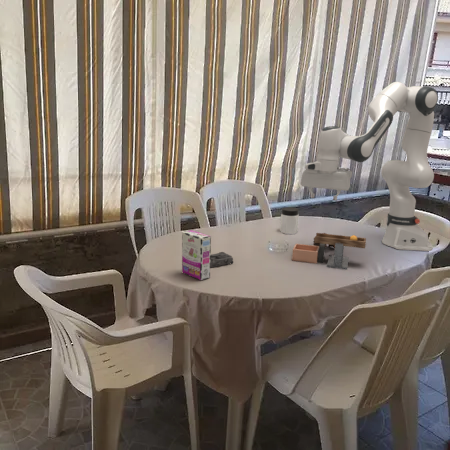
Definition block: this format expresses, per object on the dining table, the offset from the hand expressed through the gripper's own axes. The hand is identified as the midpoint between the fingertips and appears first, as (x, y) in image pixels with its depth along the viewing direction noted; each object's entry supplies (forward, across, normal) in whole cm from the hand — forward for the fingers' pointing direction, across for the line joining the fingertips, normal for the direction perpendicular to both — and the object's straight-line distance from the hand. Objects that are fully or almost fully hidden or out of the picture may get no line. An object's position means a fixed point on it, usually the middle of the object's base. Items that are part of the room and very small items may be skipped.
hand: (323, 198), depth 195 cm
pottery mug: (+25, -1, -10) cm, 27 cm away
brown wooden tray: (+16, -9, +7) cm, 20 cm away
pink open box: (+25, +4, +8) cm, 26 cm away
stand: (+25, -7, +7) cm, 27 cm away
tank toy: (+27, +37, +27) cm, 53 cm away
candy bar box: (+26, +40, +42) cm, 64 cm away
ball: (+14, -14, +7) cm, 21 cm away
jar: (+25, +19, -30) cm, 43 cm away
